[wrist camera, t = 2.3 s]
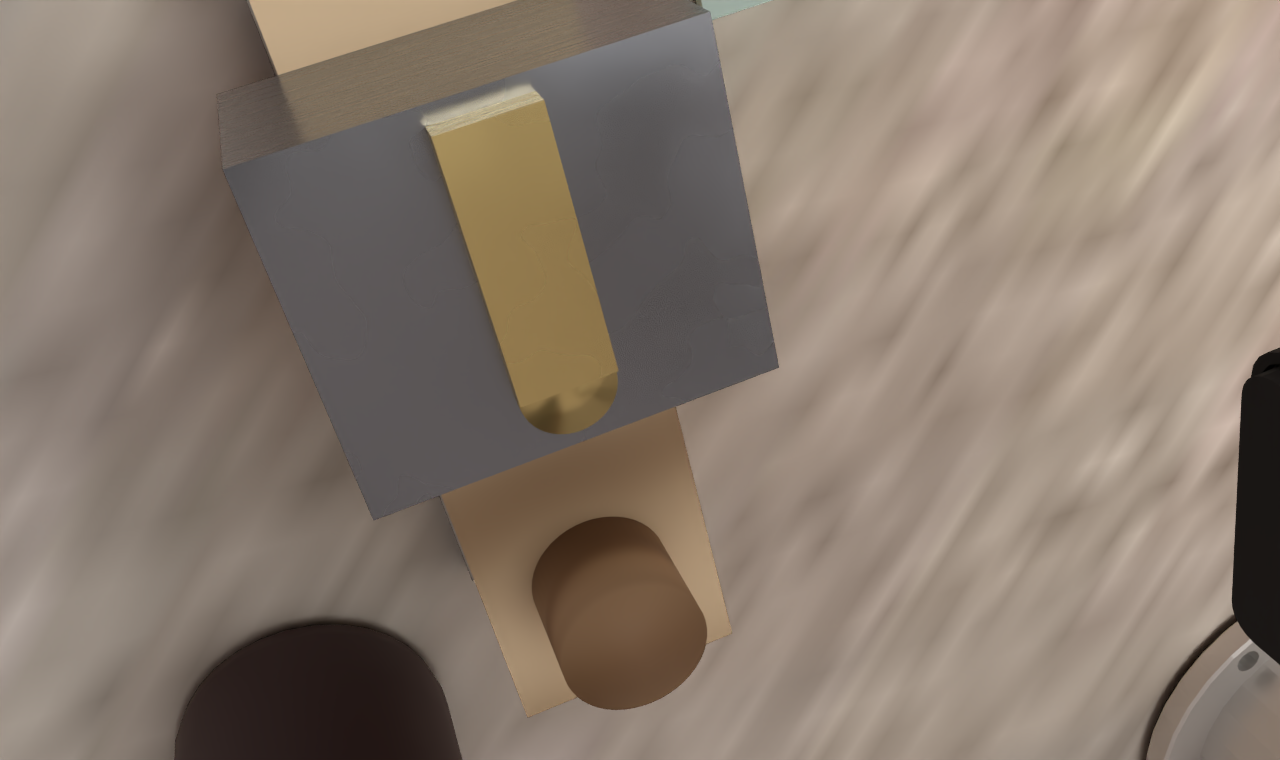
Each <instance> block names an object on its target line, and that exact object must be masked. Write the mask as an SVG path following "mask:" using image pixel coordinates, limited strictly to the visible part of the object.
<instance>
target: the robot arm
mask: <svg viewBox="0 0 1280 760" xmlns="http://www.w3.org/2000/svg"><path fill="white" fill-rule="evenodd" d="M1232 607H1233V611H1234V614H1235V617H1236V619H1237V622H1235V623H1234V624H1233V625H1231V626H1230V627H1229V628H1227V629H1226V630H1225V631H1224V632H1223V633H1222V634H1221V635H1220V636H1219V637H1218V638H1217V639H1216V640H1215V641H1214V642H1213V643H1212V644H1211V645H1210V646H1209V647H1208V648H1207V649H1206V650H1205V651H1204V652H1202V654H1201V655H1200V656H1199V657H1198V659H1197V660H1196V661H1195V662H1194V663H1193V665H1192V666H1191V667H1190V668H1189V669H1188V671H1187V672H1186V673H1185V674H1184V676H1183V677H1182V678H1181V680H1180V681H1179V683H1178V684H1177V686H1176V687H1175V689H1174V691H1173V692H1172V694H1171V695H1170V697H1169V699H1168V700H1167V702H1166V703H1165V705H1164V707H1163V710H1162V712H1161V714H1160V716H1159V719H1158V721H1157V723H1156V725H1155V727H1154V730H1153V733H1152V737H1151V741H1150V745H1149V749H1148V752H1147V760H1280V348H1277V349H1275V350H1273V351H1270V352H1268V353H1266V354H1264V355H1262V356H1260V357H1259V358H1258V359H1257V361H1256V362H1255V364H1254V365H1253V370H1252V375H1251V378H1249V379H1248V380H1247V381H1246V383H1245V384H1244V386H1243V390H1242V400H1241V421H1240V442H1239V462H1238V483H1237V504H1236V525H1235V545H1234V566H1233V587H1232Z"/></svg>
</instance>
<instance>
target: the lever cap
mask: <svg viewBox="0 0 1280 760" xmlns="http://www.w3.org/2000/svg"><path fill="white" fill-rule="evenodd" d="M217 104H218V117H219V130H220V144H221V157H222V170H223V172H224V174H225V177H226V179H227V181H228V183H229V186H230V188H231V190H232V193H233V195H234V197H235V200H236V202H237V204H238V207H239V209H240V211H241V214H242V216H243V218H244V221H245V223H246V225H247V228H248V230H249V232H250V235H251V237H252V239H253V242H254V244H255V246H256V249H257V251H258V253H259V255H260V258H261V260H262V262H263V265H264V267H265V269H266V272H267V274H268V276H269V279H270V281H271V283H272V286H273V288H274V290H275V293H276V295H277V297H278V300H279V302H280V304H281V307H282V309H283V311H284V314H285V316H286V318H287V320H288V323H289V325H290V327H291V330H292V332H293V334H294V337H295V339H296V341H297V344H298V346H299V348H300V351H301V353H302V355H303V358H304V360H305V362H306V365H307V367H308V369H309V372H310V374H311V376H312V379H313V381H314V383H315V385H316V388H317V390H318V392H319V395H320V397H321V399H322V402H323V404H324V406H325V409H326V411H327V413H328V416H329V418H330V420H331V423H332V425H333V427H334V430H335V432H336V434H337V437H338V439H339V441H340V444H341V446H342V448H343V451H344V453H345V455H346V457H347V460H348V462H349V464H350V467H351V469H352V471H353V474H354V476H355V478H356V481H357V483H358V485H359V488H360V490H361V492H362V495H363V497H364V499H365V502H366V504H367V506H368V509H369V511H370V513H371V516H372V518H373V520H376V519H379V518H381V517H384V516H387V515H389V514H392V513H394V512H397V511H400V510H402V509H405V508H408V507H410V506H413V505H416V504H418V503H421V502H424V501H426V500H429V499H432V498H434V497H437V496H440V495H442V494H445V493H448V492H450V491H453V490H455V489H458V488H461V487H463V486H466V485H469V484H471V483H474V482H477V481H479V480H482V479H485V478H487V477H490V476H493V475H495V474H498V473H501V472H503V471H506V470H508V469H511V468H514V467H516V466H519V465H522V464H524V463H527V462H530V461H532V460H535V459H538V458H540V457H543V456H546V455H548V454H551V453H554V452H556V451H559V450H562V449H564V448H567V447H569V446H572V445H575V444H577V443H580V442H583V441H585V440H588V439H591V438H593V437H596V436H599V435H601V434H604V433H607V432H609V431H612V430H615V429H617V428H620V427H623V426H625V425H628V424H630V423H633V422H636V421H638V420H641V419H644V418H646V417H649V416H652V415H654V414H657V413H660V412H662V411H665V410H668V409H670V408H673V407H676V406H678V405H681V404H684V403H686V402H689V401H691V400H694V399H697V398H699V397H702V396H705V395H707V394H710V393H713V392H715V391H718V390H721V389H723V388H726V387H729V386H731V385H734V384H737V383H739V382H742V381H745V380H747V379H750V378H752V377H755V376H758V375H760V374H763V373H766V372H768V371H771V370H774V369H776V368H779V365H778V359H777V354H776V349H775V344H774V339H773V334H772V328H771V323H770V318H769V313H768V308H767V303H766V297H765V292H764V287H763V282H762V277H761V271H760V266H759V261H758V256H757V251H756V246H755V240H754V235H753V230H752V225H751V220H750V215H749V209H748V204H747V199H746V194H745V189H744V183H743V178H742V173H741V168H740V163H739V158H738V152H737V147H736V142H735V137H734V132H733V127H732V121H731V116H730V111H729V106H728V101H727V95H726V90H725V85H724V80H723V75H722V70H721V64H720V59H719V54H718V49H717V44H716V39H715V33H714V28H713V23H712V18H711V13H710V11H708V10H706V9H704V8H703V7H701V6H699V5H697V4H695V3H693V2H691V1H689V0H516V1H513V2H510V3H507V4H504V5H500V6H497V7H494V8H491V9H488V10H484V11H481V12H478V13H475V14H472V15H468V16H465V17H462V18H459V19H456V20H453V21H449V22H446V23H443V24H440V25H437V26H433V27H430V28H427V29H424V30H421V31H417V32H414V33H411V34H408V35H405V36H401V37H398V38H395V39H392V40H389V41H385V42H382V43H379V44H376V45H373V46H370V47H366V48H363V49H360V50H357V51H354V52H350V53H347V54H344V55H341V56H338V57H334V58H331V59H328V60H325V61H322V62H318V63H315V64H312V65H309V66H306V67H302V68H299V69H296V70H293V71H290V72H287V73H283V74H280V75H277V76H274V77H271V78H267V79H264V80H261V81H258V82H255V83H251V84H248V85H245V86H242V87H239V88H235V89H232V90H229V91H226V92H223V93H219V94H217Z"/></svg>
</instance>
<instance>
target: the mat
mask: <svg viewBox="0 0 1280 760" xmlns="http://www.w3.org/2000/svg"><path fill="white" fill-rule="evenodd" d="M769 1H772V0H696V4H697V5H699V6H701V7H703V8H704V9H706V10H708V11H710V13H711V18H712V20H714V19H717V18H720V17H723V16H726V15H729V14H732V13H735V12H738V11H741V10H745V9H748V8H751V7H754V6H757V5H760V4H763V3H766V2H769Z"/></svg>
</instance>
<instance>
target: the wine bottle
mask: <svg viewBox="0 0 1280 760" xmlns="http://www.w3.org/2000/svg"><path fill="white" fill-rule="evenodd" d="M174 760H462V757H461V753H460V749H459V745H458V742H457V738H456V734H455V730H454V727H453V723H452V719H451V715H450V712H449V708H448V704H447V701H446V699H445V696H444V693H443V690H442V687H441V686H440V684H439V683H438V681H437V680H436V678H435V677H434V675H433V674H432V672H431V671H430V670H429V668H428V667H427V665H426V664H425V662H424V661H423V660H422V659H421V658H420V657H419V656H418V655H417V654H416V653H415V652H413V651H412V650H411V649H410V648H409V647H408V646H407V645H405V644H403V643H401V642H399V641H398V640H396V639H394V638H392V637H390V636H388V635H386V634H383V633H380V632H376V631H373V630H370V629H367V628H362V627H355V626H348V625H312V626H307V627H301V628H296V629H290V630H286V631H283V632H280V633H277V634H274V635H271V636H268V637H265V638H262V639H260V640H258V641H256V642H254V643H252V644H251V645H249V646H247V647H245V648H243V649H241V650H239V651H237V652H236V653H235V654H233V655H232V656H231V657H229V658H228V659H227V660H225V661H224V662H223V663H221V664H220V665H219V666H217V667H216V668H215V669H214V670H213V671H212V673H211V674H210V675H209V676H208V677H207V678H206V679H205V680H204V681H203V682H202V683H201V684H200V686H199V687H198V689H197V691H196V692H195V694H194V696H193V697H192V699H191V700H190V702H189V704H188V706H187V708H186V711H185V714H184V716H183V719H182V722H181V725H180V728H179V731H178V734H177V737H176V740H175V757H174Z"/></svg>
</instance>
